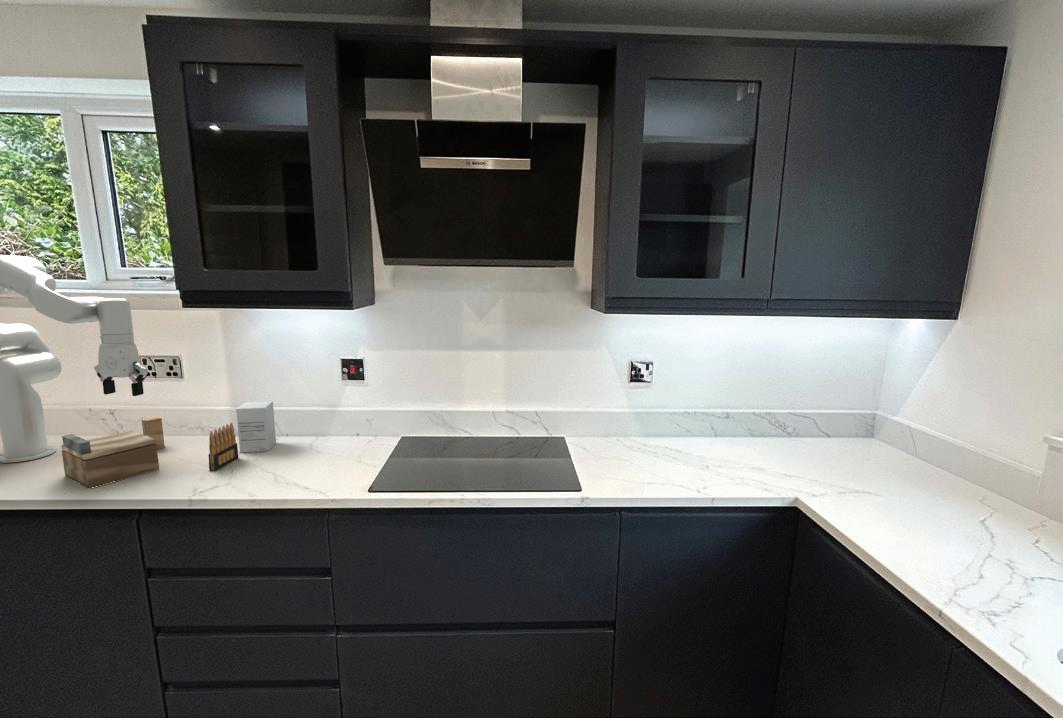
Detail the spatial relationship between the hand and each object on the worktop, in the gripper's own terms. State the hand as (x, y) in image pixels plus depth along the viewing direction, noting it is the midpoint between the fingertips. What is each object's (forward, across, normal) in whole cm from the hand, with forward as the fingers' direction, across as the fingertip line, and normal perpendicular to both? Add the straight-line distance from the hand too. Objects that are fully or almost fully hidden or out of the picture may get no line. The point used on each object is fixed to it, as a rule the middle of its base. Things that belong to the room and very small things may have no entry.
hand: (124, 394), depth 146 cm
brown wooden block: (+20, 0, +8) cm, 22 cm away
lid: (+12, +7, -12) cm, 18 cm away
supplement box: (+20, +33, +14) cm, 41 cm away
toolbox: (+20, +7, -12) cm, 24 cm away
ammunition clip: (+20, +33, -1) cm, 39 cm away
